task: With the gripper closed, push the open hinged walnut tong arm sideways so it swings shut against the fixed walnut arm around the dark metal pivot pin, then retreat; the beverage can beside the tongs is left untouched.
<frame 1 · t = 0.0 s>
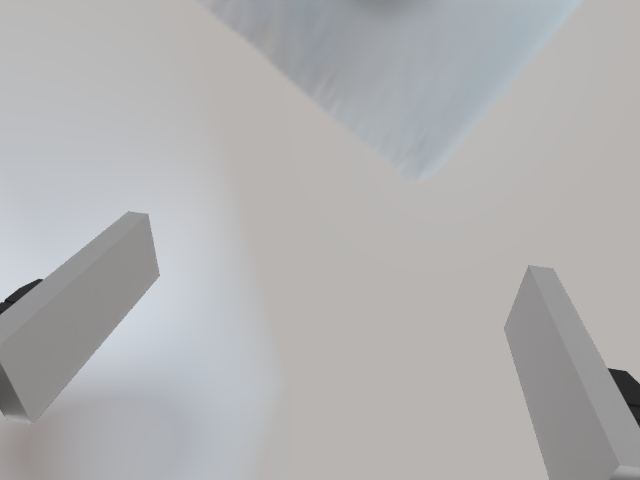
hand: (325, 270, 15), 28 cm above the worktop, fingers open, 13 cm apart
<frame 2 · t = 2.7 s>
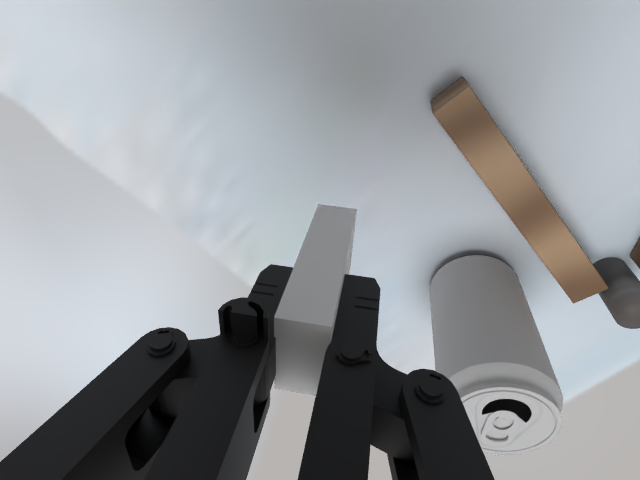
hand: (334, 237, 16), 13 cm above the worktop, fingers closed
beverage can: (471, 283, 32), on the worktop
tong arm: (521, 197, 25), point 2 cm above the worktop, hinge at 45.0°
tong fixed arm: (607, 272, 29), on the worktop
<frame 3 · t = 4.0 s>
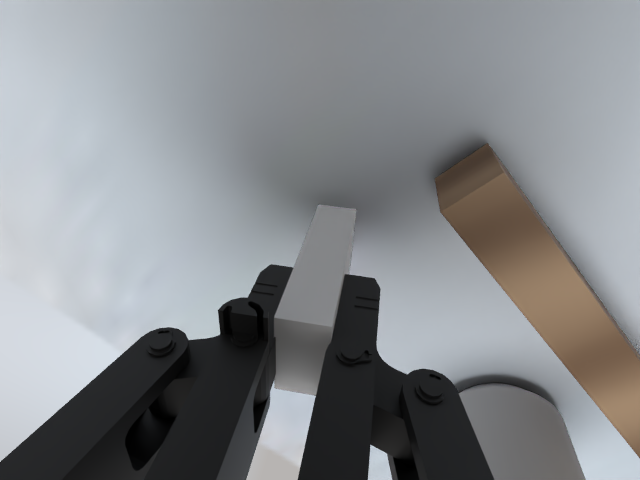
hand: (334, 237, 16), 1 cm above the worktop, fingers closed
beverage can: (492, 412, 22), on the worktop
tong arm: (578, 324, 16), point 2 cm above the worktop, hinge at 45.0°
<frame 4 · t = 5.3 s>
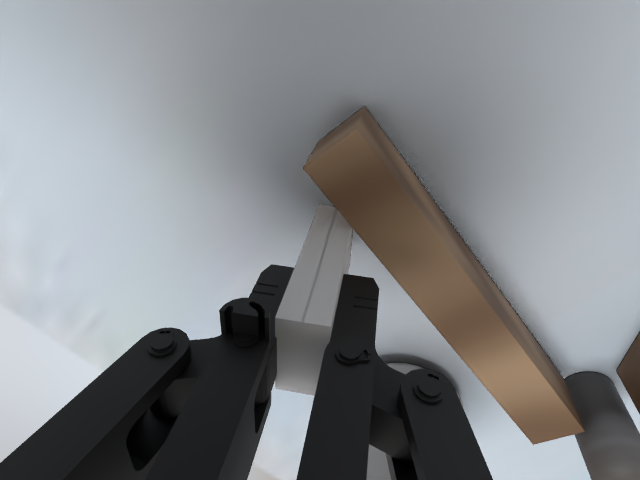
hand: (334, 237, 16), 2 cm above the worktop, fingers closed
beverage can: (400, 392, 23), on the worktop
tong arm: (457, 293, 17), point 2 cm above the worktop, hinge at 41.7°, touching gripper
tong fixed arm: (585, 389, 20), on the worktop
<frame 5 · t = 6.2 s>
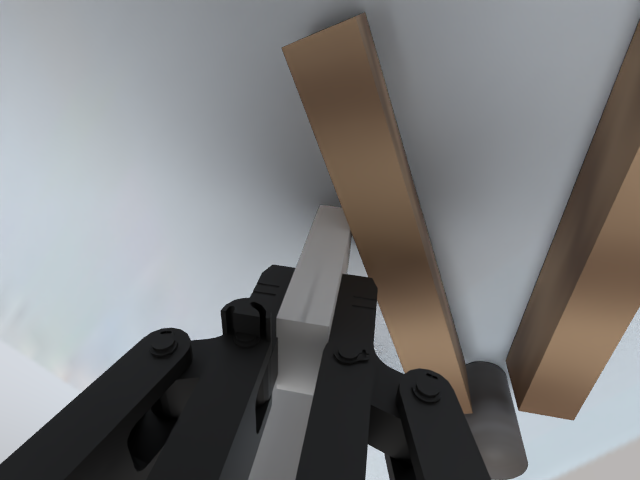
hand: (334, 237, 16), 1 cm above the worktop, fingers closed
beverage can: (313, 382, 24), on the worktop
tong arm: (397, 247, 16), point 2 cm above the worktop, hinge at 23.2°, touching gripper
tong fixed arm: (480, 379, 21), on the worktop
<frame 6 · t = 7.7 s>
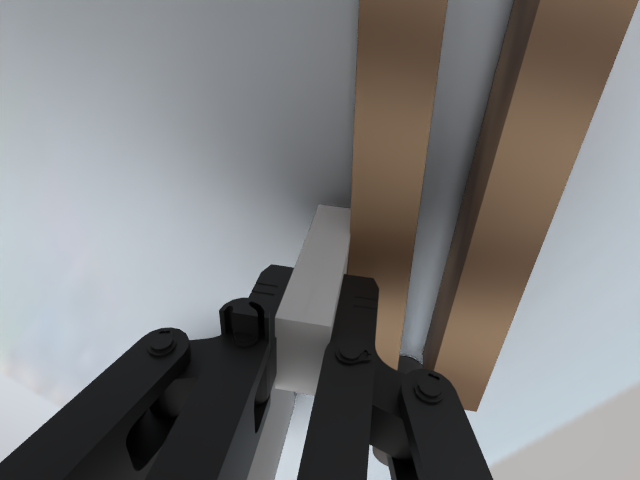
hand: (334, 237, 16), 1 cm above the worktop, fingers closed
beverage can: (245, 376, 24), on the worktop
tong arm: (383, 224, 15), point 2 cm above the worktop, hinge at 3.2°, touching gripper
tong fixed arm: (401, 372, 21), on the worktop
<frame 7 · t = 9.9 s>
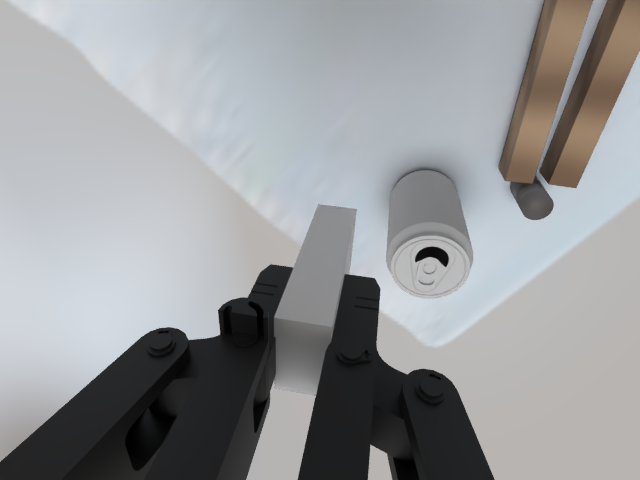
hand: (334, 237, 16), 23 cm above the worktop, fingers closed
beverage can: (423, 197, 40), on the worktop
tong arm: (544, 78, 31), point 2 cm above the worktop, hinge at 3.2°
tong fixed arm: (524, 185, 38), on the worktop
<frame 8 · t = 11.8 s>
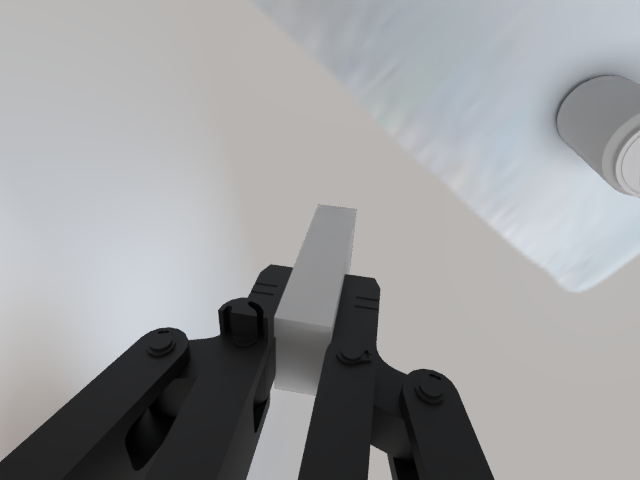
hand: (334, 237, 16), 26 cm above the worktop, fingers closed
beverage can: (593, 111, 37), on the worktop
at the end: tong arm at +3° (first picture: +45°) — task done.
